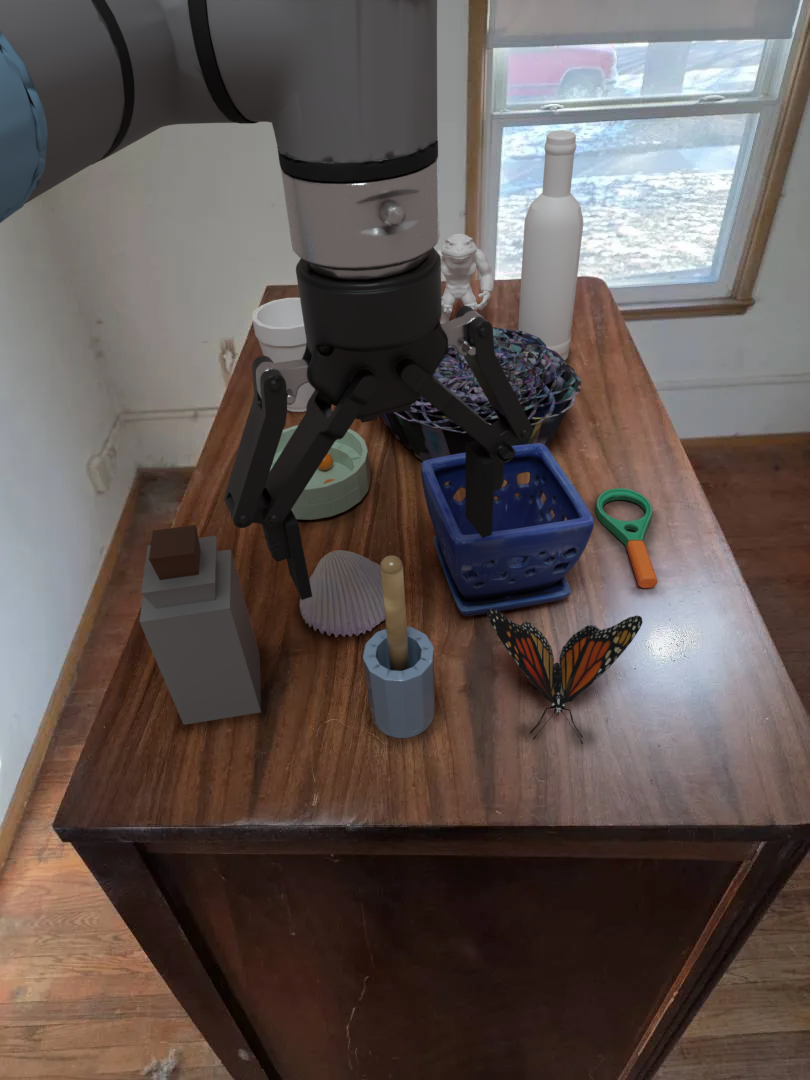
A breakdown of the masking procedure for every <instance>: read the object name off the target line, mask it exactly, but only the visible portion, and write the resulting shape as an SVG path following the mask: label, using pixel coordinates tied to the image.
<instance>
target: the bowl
mask: <svg viewBox="0 0 810 1080" xmlns="http://www.w3.org/2000/svg"><path fill="white" fill-rule="evenodd" d="M298 425H299V424H297V425H293V426H290V427H287V428H285V429H284V428H283V432H282V435H281V438H280V441H279V444H278V447H277V450H276V453H275V456H274V459H273V462H272V465H271V468H270V470H271V469H272V467H273V466H274V464H275V462H276V461H277V459H278V457H279V456H280V454H281V453H282V451H283V449H284V448H285V446H286V444H287V443H288V441H289V440H290V438H291V436H292V435H293V433H294V431H295V430H296V428H297V427H298ZM328 453H329V454H330V455H331V456H332V458H333V465H332V466H331V468H330V469H328V470H321V469H319V468H318V469H317V470H316V472H315V473H314V475H313V476H312V478H311V480H310V481H309V483H308V484H307V486H306V487H305V489H304V490H303V492H302V494H301V495H300V497H299V498H298V500H297V501H296V503H295V504H294V506H293V508H292V509H291V510H292V512H293V514H294V516H295V518H296V520H307V521H312V520H313V521H314V520H320V519H324V518H325V519H326V518H332V517H334V516H337V515H339V514H342V513H345V512H347V511H348V510H350V509H352V508H353V507H355V506H356V505H357V504H359V503H360V502H361V501H362V500H363V499H364V497H365V496H366V495H367V493H368V492H369V488H370V485H371V469H370V460H369V458H370V457H369V449H368V446H367V443H366V440H365V439H364V438H363V437H362V436H361V435H360V433H358V432H357V431H355V430H353V429H351V428H349V429H348V431H347V433H346V434H345V436H344V437H343V438H342V439H337V440H336V441H335V442H334V444H333V445H332V447H331V448H330V450H329V451H328ZM328 479H335V480H333V481H331V482H328V483H325V484H323V483H324V482H325V481H326V480H328Z"/></svg>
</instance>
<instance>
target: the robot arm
mask: <svg viewBox="0 0 810 1080" xmlns="http://www.w3.org/2000/svg"><path fill="white" fill-rule="evenodd" d="M258 123H271V126H272V130H273V133H274V137H275V142H276V148H277V154H278V162H279V167H280V172H281V180H282V185H283V193H284V194H283V195H284V200H285V206H286V213H287V220H288V229H289V234H290V243H291V247H292V251H293V253H295V255H297V257H299V261H298V262H297V264H296V265H295V274H296V275H295V276H296V281H297V289H298V294H299V298H300V302H301V308H302V315H303V322H304V328H305V334H306V349H305V352H304V355H303V357H302V359H300V360H293V361H286V362H279V363H274V362H273V361H272V360H271V358H269V357H267V356H264V355H261V356H260V355H259V356H257V357H256V358H255V359H254V360H253V362H252V364H251V371H252V372H251V373H252V383H253V394H254V395H253V399H252V401H251V405H250V408H249V411H248V415H247V418H246V422H245V425H244V428H243V432H242V435H241V438H240V442H239V445H238V449H237V452H236V456H235V459H234V463H233V465H232V469H231V473H230V475H229V479H228V483H227V486H226V490H225V493H224V496H223V497H224V498H223V501H224V503H225V505H226V508H227V510H228V513H229V515H230V517H231V519H232V522H233V524H234V526H235V527H236V528H239V529H246V528H248V527H250V526H251V525H252V524H259V525H261V527H262V532H263V536H264V540H265V544H266V547H267V549H268V551H269V553H270V556H271V558H272V559H273V560H274V561H275V562H276V563H279V562H282V561H285V560H286V564H287V568H288V572H289V576H290V578H291V580H292V582H293V585H294V587H295V589H296V591H297V593H298V595H299V598H300V599H301V600H304V599H307V598H310V597H312V592H311V586H310V581H309V579H310V577H309V572H308V565H307V561H306V556H305V552H304V551H305V550H304V545H303V540H302V535H301V530H300V525H299V522H298V519H296V518H295V516H294V514H293V512H292V510H291V509H292V508H293V506H294V504H295V503H296V501H297V500H298V498H299V497H300V495H301V494H302V492H303V490H304V489H305V487H306V486H307V484H308V483H309V481H310V480H311V478H312V476H313V475H314V473H315V472H316V470H317V469H318V467H319V465H320V464H321V462H322V461H323V459H324V458H325V456H326V455H327V453H328V451H329V450H330V448H331V447H332V445H333V444H334V442H335V441H336V440H337V439H342V438H343V437H344V436H345V434H346V433H347V431H348V429H351V426H352V425H353V423H354V422H355V420H359V421H360V422H361V423H362V424H363V423H367V422H371V421H374V420H377V419H378V418H381V416H382V415H384V414H386V413H399V412H403V411H407V410H410V409H411V405H412V404H413V403H415V402H416V401H417V400H418V399H419V398H420V396H422V397H423V398H424V399H425V400H427V401H428V402H429V403H430V404H431V405H433V406H434V407H435V408H436V409H437V410H439V411H441V412H442V413H443V414H445V415H446V416H447V417H448V418H450V419H451V420H452V421H453V422H454V423H456V424H457V425H458V426H459V427H460V428H462V429H463V430H464V431H465V432H466V433H468V434H469V435H470V436H471V437H473V438H474V439H475V440H476V441H477V442H479V444H478V443H477V442H476V441H473V442H469V443H466V472H465V488H464V489H465V492H464V493H465V496H464V498H465V517H466V518H467V519H468V521H469V522H470V523H471V524H472V526H473V527H474V528H475V529H476V531H477V532H478V533H479V534H480V535H481V537H482V538H485V537H487V536H490V535H492V519H493V492H494V491H496V490H499V489H501V487H503V485H504V481H505V480H504V476H503V475H504V463H507V462H509V461H510V460H512V458H513V457H514V455H515V450H514V448H513V447H512V446H511V444H512V443H514V442H515V441H517V440H519V441H522V442H523V441H526V440H528V439H529V438H530V437H531V436H532V434H533V427H532V425H531V423H530V422H529V420H528V418H527V416H526V414H525V412H524V410H523V408H522V406H521V404H520V402H519V400H518V398H517V396H516V394H515V392H514V390H513V388H512V386H511V385H510V383H509V381H508V379H507V377H506V375H505V373H504V371H503V369H502V367H501V365H500V363H499V361H498V359H497V357H496V355H495V351H494V339H493V328H492V327H493V324H491V322H490V321H488V320H487V319H486V318H485V317H483V315H481V314H480V313H479V312H478V311H477V310H476V311H475V310H473V309H472V308H471V307H469V306H464V305H463V306H461V307H460V308H459V309H458V310H457V311H456V312H455V316H454V317H455V318H452V319H451V320H450V319H449V321H448V322H445V323H442V324H441V323H440V320H441V318H442V316H441V314H442V300H441V296H442V271H441V258H440V255H439V254H438V252H437V251H438V250H436V249H435V246H436V245H437V244H439V240H440V237H441V217H440V216H441V215H440V213H441V212H440V170H439V169H440V168H439V167H440V163H439V161H440V160H439V157H440V156H439V140H438V139H439V137H438V0H0V224H1V223H3V222H4V221H5V220H6V219H8V218H9V217H11V216H12V215H13V214H14V213H16V212H17V211H19V210H21V209H22V208H23V207H24V206H25V205H26V204H27V203H29V202H31V201H32V200H34V199H37V198H38V197H39V196H41V195H43V194H44V193H47V191H49V190H51V189H53V188H55V187H56V186H58V185H60V184H61V183H63V182H64V181H66V180H68V179H70V178H71V177H73V176H75V175H77V174H78V173H80V172H81V171H83V170H85V169H86V168H88V167H91V166H92V165H95V164H97V163H99V162H100V161H103V160H105V159H107V158H109V157H110V156H112V155H115V154H116V153H118V152H119V151H121V150H123V149H125V148H127V147H128V146H130V145H132V144H134V143H136V142H138V141H139V140H141V139H143V138H144V137H147V136H149V135H150V134H152V133H153V132H156V131H158V130H159V129H161V128H164V127H169V126H175V125H194V124H198V125H199V124H241V125H243V124H244V125H246V124H247V125H249V124H250V125H251V124H258ZM448 346H452V347H453V348H454V349H455V350H456V351H457V352H458V353H459V354H460V355H462V356H464V358H465V359H466V361H467V363H468V365H469V367H470V368H471V370H472V372H473V374H474V376H475V377H476V379H477V381H478V383H479V385H480V386H481V388H482V390H483V392H484V394H485V395H486V397H487V399H488V401H489V403H490V404H491V406H492V408H493V410H494V411H495V413H496V415H497V417H498V419H499V420H497V421H496V422H494V423H493V424H491V425H490V424H489V423H487V422H486V421H485V420H484V419H483V418H482V417H481V416H479V415H478V414H477V413H476V412H475V411H474V410H472V409H471V408H470V407H469V406H468V405H467V404H466V403H464V402H463V401H462V400H461V399H460V398H459V397H458V396H456V395H455V394H454V393H453V392H452V391H451V390H450V389H448V388H447V387H446V386H445V385H444V384H443V383H441V382H440V381H439V380H438V379H437V378H436V377H435V376H434V375H433V374H434V373H435V371H436V369H437V368H438V366H439V364H440V362H441V361H442V359H443V357H444V356H445V354H446V352H447V349H448ZM305 383H310V384H311V386H312V387H313V388H314V389H315V391H314V392H313V394H312V396H311V397H310V399H309V401H308V403H307V406H306V411H305V414H304V415H303V417H302V419H301V420H300V422H299V423H298V424H297V425H298V427H297V428H296V430H295V431H294V433H293V435H292V436H291V438H290V440H289V441H288V443H287V444H286V446H285V448H284V449H283V451H282V453H281V454H280V456H279V457H278V459H277V461H276V462H275V464H274V466H273V467H272V469H271V470H270V468H271V465H272V462H273V459H274V456H275V453H276V450H277V447H278V444H279V441H280V438H281V435H282V432H283V430H284V428H285V424H286V421H287V414H288V410H287V404H288V405H291V404H293V403H294V402H295V400H296V396H297V392H298V389H299V388H300V387H301V386H302V385H303V384H305ZM332 406H334V408H333V410H332Z"/></svg>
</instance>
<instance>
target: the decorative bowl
mask: <svg viewBox="0 0 810 1080" xmlns="http://www.w3.org/2000/svg"><path fill="white" fill-rule="evenodd" d="M492 328H493V339H494V351H495V355H496V357H497V359H498V361H499V363H500V365H501V367H502V369H503V371H504V373H505V375H506V377H507V379H508V381H509V383H510V385H511V386H512V388H513V390H514V392H515V394H516V396H517V398H518V400H519V402H520V404H521V406H522V408H523V410H524V412H525V414H526V416H527V418H528V420H529V422H530V423H531V425H532V427H533V434H532V436H531V437H530V438H529V439H528V440H526V441H523V442H522V441H519V440H517V441H515V442H514V443H512V444H511V446H516V445H525V444H535V443H540V444H544V445H545V446H546V447H547V448H549V446H550V444H551V442H552V440H553V438H554V437H555V435H556V433H557V431H558V429H559V428H560V426H561V424H562V422H563V420H564V418H565V417H566V415H567V413H568V411H569V409H570V408H572V407H573V406H575V404H576V397H577V395H578V394H579V393H580V392H581V390H582V389H581V388H582V378H580V376H579V375H577V374H576V372H575V369H574V368H573V367H572V366H570V365H569V364H568V363H567V361H566V360H564V359H563V358H562V357H561V356H560V355H559V354H558V353H557V352H556V351H553V350H550V349H548V348H547V347H546V344H545V343H544V342H543V341H542V340H541V339H540V338H539V337H536V336H534V335H531V334H529V333H526V332H524V331H518V329H516V330H515V329H509V328H504V327H495V326H492ZM433 375H434V376H435V377H436V378H437V379H438V380H439V381H440V382H441V383H443V384H444V385H445V386H446V387H447V388H448V389H450V390H451V391H452V392H453V393H454V394H455V395H456V396H458V397H459V398H460V399H461V400H462V401H463V402H464V403H466V404H467V405H468V406H469V407H470V408H471V409H472V410H474V411H475V412H476V413H477V414H478V415H479V416H481V417H482V418H483V419H484V420H485V421H486V422H487V423H489V424H490V425H491V424H493V423H494V422H496V421H497V420H499V419H498V417H497V415H496V413H495V411H494V410H493V408H492V406H491V404H490V403H489V401H488V399H487V397H486V395H485V394H484V392H483V390H482V388H481V386H480V385H479V383H478V381H477V379H476V377H475V376H474V374H473V372H472V370H471V368H470V367H469V365H468V363H467V361H466V359H465V358H464V356H462V355H460V354H459V353H458V352H457V351H456V350H455V349H454V348H453V347H452V346H448V349H447V352H446V354H445V356H444V357H443V359H442V361H441V362H440V364H439V366H438V368H437V369H436V371H435V373H434V374H433ZM380 418H381V419H382V421H383V423H384V425H385V426H387V427H388V429H389V430H390V432H391V433H392V435H393V437H394V438H395V439H396V440H398V441H399V442H400V443H401V444H402V445H403V446H404V447H405V448H407V450H412V452H413V453H414V457H416V458H417V459H418V460H420V461H422V462H423V461H425V460H429V459H433V458H437V457H442V456H448V455H454V454H459V453H465V452H466V443H469V442H473V441H476V440H475V439H474V438H473V437H471V436H470V435H469V434H468V433H466V432H465V431H464V430H463V429H462V428H460V427H459V426H458V425H457V424H456V423H454V422H453V421H452V420H451V419H450V418H448V417H447V416H446V415H445V414H443V413H442V412H441V411H439V410H437V409H436V408H435V407H434V406H433V405H431V404H430V403H429V402H428V401H427V400H425V399H424V398H423V397H422V396H420V398H419V399H418V400H417V401H416V402H415V403H413V404H412V405H411V409H410V410H407V411H403V412H399V413H386V414H384V415H382V416H380ZM476 442H477V441H476ZM477 443H478V444H479V442H477Z"/></svg>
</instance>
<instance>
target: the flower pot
mask: <svg viewBox="0 0 810 1080" xmlns="http://www.w3.org/2000/svg"><path fill="white" fill-rule="evenodd" d="M512 447H513V448H514V450H515V455H514V457H513V458H512V460H510V461H509V462H507V463H504V475H503V476H504V481H505V482H506V484H505V485H504V486H502V487H501V489H499V490H496V491H494V492H493V519H492V535H490V536H487V537H485V538H482V537H481V535H480V534H479V533H478V532H477V531H476V529H475V528H474V527H473V526H472V524H471V523H470V522H469V521H468V519H467V518H466V517H465V497H463V499H462V500H457V499H456V498H454V496H455V495H456V493H458V491H459V490H460V489H461V488H463V489H465V472H466V452H465V453H459V454H454V455H448V456H442V457H437V458H433V459H429V460H425V461H422V462H421V464H420V476H421V477H420V478H421V484H422V489H423V495H424V499H425V504H426V508H427V511H428V514H429V519H430V521H431V524H432V527H433V530H434V534H435V536H434V537H433V538H432V541H433V544H434V547H435V551H436V554H437V557H438V560H439V563H440V565H441V569H442V571H443V574H444V577H445V579H446V582H447V585H448V587H449V590H450V593H451V595H452V598H453V600H454V602H455V605H456V607H457V609H458V611H459V613H460V614H461V615H462V616H465V617H472V616H478V615H479V616H480V615H484V614H485V615H487V612H488V609H489V608H492V609H494V610H498V611H499V612H503V611H509V610H515V609H520V608H527V607H531V606H536V605H543V604H547V603H552V602H557V601H561V600H563V599H566V598H568V597H569V596H570V595H571V593H572V589H571V587H570V584H569V582H568V580H567V578H566V575H567V574H569V572H570V571H571V570H572V569H573V568H574V567H575V565H576V564H577V563H578V561H579V559H580V558H581V557H582V555H583V553H584V551H585V550H586V547H587V545H588V543H589V540H590V538H591V536H592V533H593V530H594V526H595V520H594V517H593V514H592V513H591V511H590V509H589V508H588V506H587V504H586V502H585V501H584V499H583V498H582V496H581V495H580V493H579V491H578V490H577V488H576V486H575V485H574V484H573V483H572V481H571V479H569V477H568V475H567V474H566V473H565V471H564V470H563V468H562V466H561V465H560V464H559V462H558V461H557V459H556V458H555V456H554V455H553V453H552V452H551V450H550V449H549V447H546V446H545V445H544V444H540V443H535V444H525V445H516V446H512ZM523 473H524V474H525V473H529V479H528V483H527V482H526V483H519V482H518V476H519V474H523ZM517 494H518V496H516V495H517ZM543 494H544V497H545V500H544V502H543V500H542V496H543ZM495 497H497V498H498V499H495ZM552 512H553V516H552ZM565 519H566V520H565Z"/></svg>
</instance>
